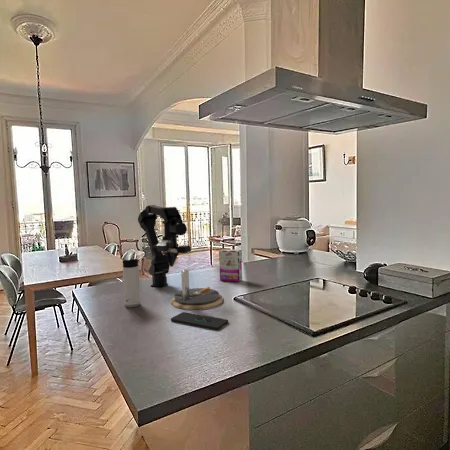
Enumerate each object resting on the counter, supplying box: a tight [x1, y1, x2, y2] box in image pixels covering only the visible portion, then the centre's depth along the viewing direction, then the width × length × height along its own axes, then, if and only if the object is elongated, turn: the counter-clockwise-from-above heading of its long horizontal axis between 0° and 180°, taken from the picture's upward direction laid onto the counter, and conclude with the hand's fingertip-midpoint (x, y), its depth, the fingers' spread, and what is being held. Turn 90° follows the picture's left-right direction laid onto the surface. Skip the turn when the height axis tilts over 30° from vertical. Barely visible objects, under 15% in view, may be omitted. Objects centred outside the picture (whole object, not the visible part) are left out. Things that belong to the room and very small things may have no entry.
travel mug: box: [122, 258, 141, 308], centre depth 146 cm, size 6×7×20 cm
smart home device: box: [170, 311, 229, 331], centre depth 126 cm, size 8×2×20 cm
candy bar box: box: [218, 248, 243, 283], centre depth 183 cm, size 11×5×16 cm, turn 68°
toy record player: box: [174, 269, 220, 305], centre depth 150 cm, size 20×19×14 cm
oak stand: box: [170, 293, 223, 311], centre depth 150 cm, size 22×22×1 cm
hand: (171, 266), depth 166 cm, fingers closed
